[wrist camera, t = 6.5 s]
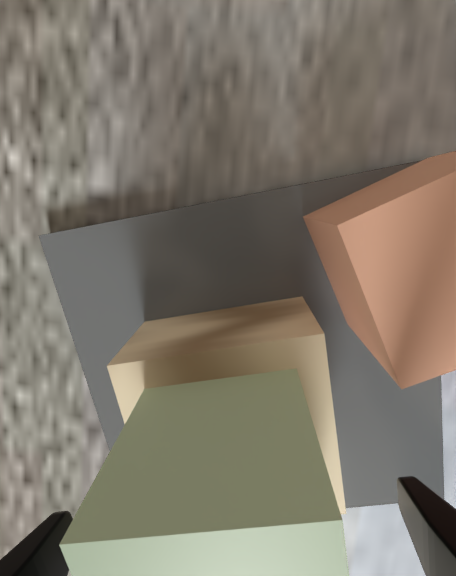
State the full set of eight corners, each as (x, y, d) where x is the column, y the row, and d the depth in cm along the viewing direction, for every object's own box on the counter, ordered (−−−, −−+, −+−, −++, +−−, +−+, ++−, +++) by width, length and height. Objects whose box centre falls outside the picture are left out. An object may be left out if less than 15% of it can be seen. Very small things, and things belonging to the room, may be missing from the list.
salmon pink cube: (428, 157, 12) (551, 127, 7) (465, 276, 13) (594, 319, 8) (302, 216, 13) (336, 225, 8) (347, 324, 14) (401, 389, 9)
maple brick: (302, 296, 14) (324, 333, 10) (321, 435, 15) (346, 513, 11) (144, 321, 14) (106, 365, 10) (179, 452, 16) (157, 531, 12)
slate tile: (423, 160, 13) (435, 157, 12) (434, 485, 17) (444, 498, 16) (49, 233, 14) (38, 235, 14) (139, 514, 18) (135, 528, 17)
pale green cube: (296, 368, 10) (342, 520, 5) (314, 494, 11) (365, 712, 6) (144, 388, 11) (59, 544, 6) (177, 508, 12) (130, 719, 7)
